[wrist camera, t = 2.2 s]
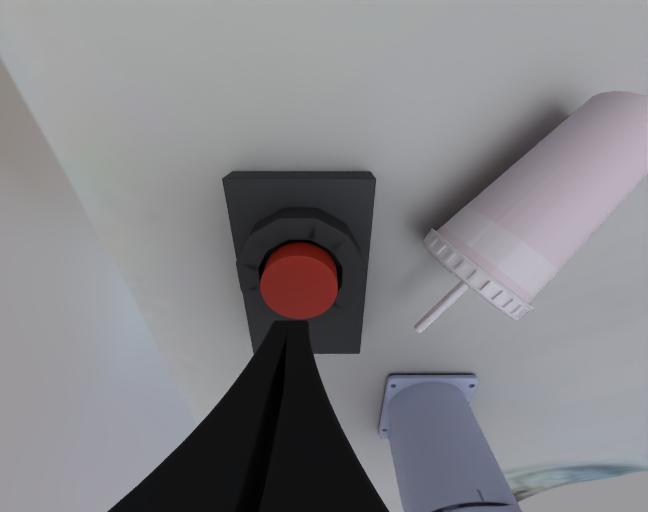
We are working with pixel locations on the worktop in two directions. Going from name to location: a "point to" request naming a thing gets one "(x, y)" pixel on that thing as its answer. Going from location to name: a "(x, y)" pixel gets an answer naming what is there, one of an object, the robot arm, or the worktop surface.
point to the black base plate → (310, 227)
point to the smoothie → (544, 205)
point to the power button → (299, 281)
